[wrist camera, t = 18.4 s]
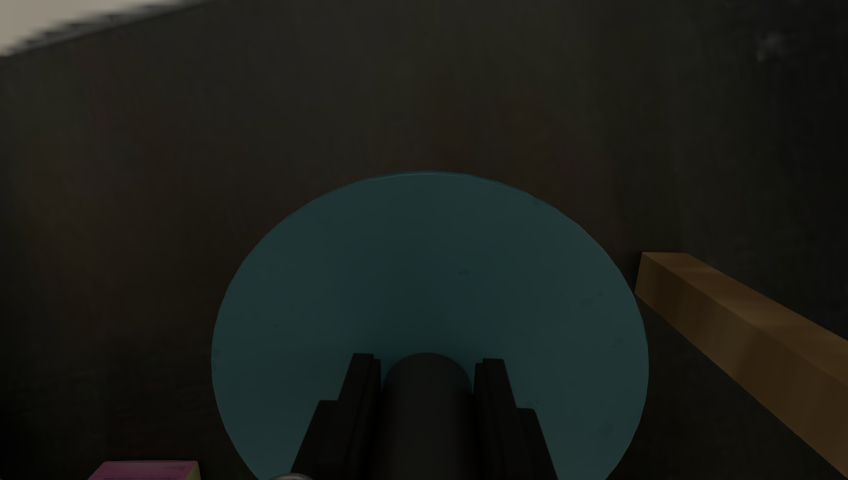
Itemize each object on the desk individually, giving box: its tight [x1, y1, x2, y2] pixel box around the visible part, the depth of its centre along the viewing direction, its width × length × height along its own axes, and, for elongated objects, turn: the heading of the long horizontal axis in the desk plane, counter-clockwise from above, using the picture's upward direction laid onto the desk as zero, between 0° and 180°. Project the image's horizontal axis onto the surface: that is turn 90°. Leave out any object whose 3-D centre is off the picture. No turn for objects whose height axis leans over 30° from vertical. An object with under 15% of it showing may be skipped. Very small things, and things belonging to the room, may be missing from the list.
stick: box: [635, 252, 848, 478], centre depth 14 cm, size 2×2×15 cm
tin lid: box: [211, 170, 649, 480], centre depth 10 cm, size 13×13×7 cm
